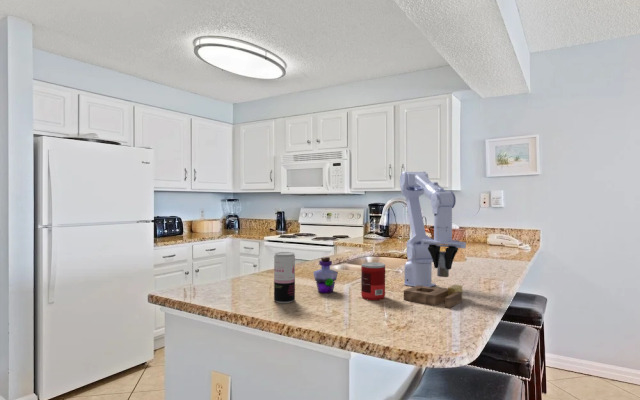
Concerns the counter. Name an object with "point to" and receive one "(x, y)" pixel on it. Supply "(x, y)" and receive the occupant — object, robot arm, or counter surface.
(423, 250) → the robot arm
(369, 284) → the canned food
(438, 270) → the peg
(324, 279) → the potion bottle
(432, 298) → the mount
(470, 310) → the counter surface
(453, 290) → the khaki rectangular plank
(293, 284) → the beverage can
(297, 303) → the counter surface
